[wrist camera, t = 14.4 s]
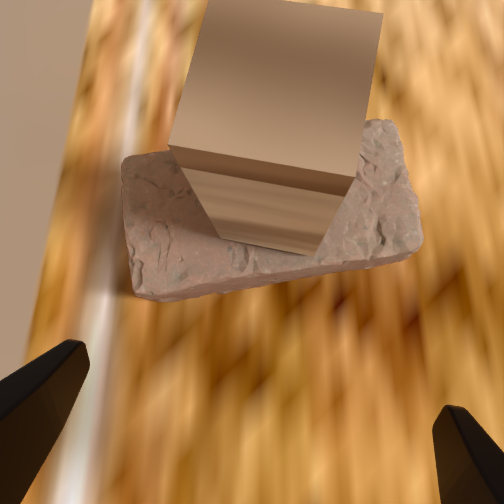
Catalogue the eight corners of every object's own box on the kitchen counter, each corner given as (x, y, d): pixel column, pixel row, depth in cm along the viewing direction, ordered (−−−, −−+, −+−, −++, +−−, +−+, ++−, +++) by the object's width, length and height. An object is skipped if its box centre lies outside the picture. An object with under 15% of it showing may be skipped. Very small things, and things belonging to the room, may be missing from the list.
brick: (378, 145, 25) (401, 103, 21) (409, 263, 23) (442, 247, 19) (141, 187, 26) (112, 155, 21) (154, 307, 24) (125, 301, 19)
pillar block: (313, 256, 19) (355, 176, 9) (220, 238, 20) (167, 144, 10) (330, 168, 20) (383, 13, 10) (240, 153, 21) (211, -9, 11)
